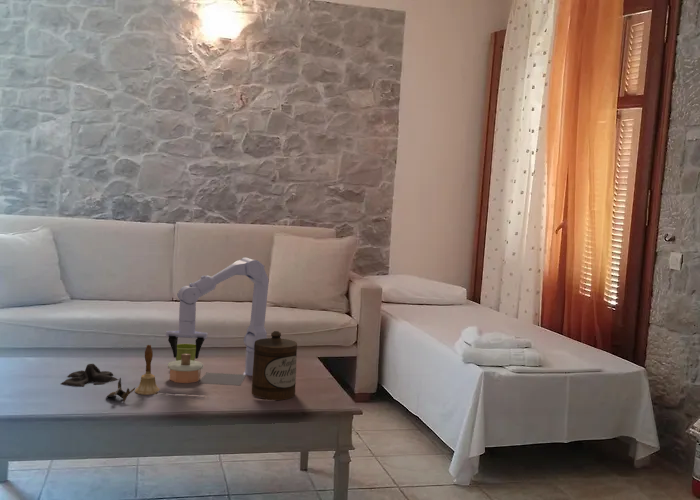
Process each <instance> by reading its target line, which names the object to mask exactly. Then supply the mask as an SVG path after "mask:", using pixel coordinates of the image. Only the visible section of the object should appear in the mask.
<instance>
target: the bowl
mask: <svg viewBox="0 0 700 500" xmlns="http://www.w3.org/2000/svg"><path fill="white" fill-rule="evenodd" d="M201 370H202V369H200V370H196V371H175V370H171V369H169V380H170V381H172V382H174V383H180V384H181V383H183V384H190V383H195V382H197V383H198V382H199V381H200V380H201V375H202V374H201V373H202V372H201Z"/></svg>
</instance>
